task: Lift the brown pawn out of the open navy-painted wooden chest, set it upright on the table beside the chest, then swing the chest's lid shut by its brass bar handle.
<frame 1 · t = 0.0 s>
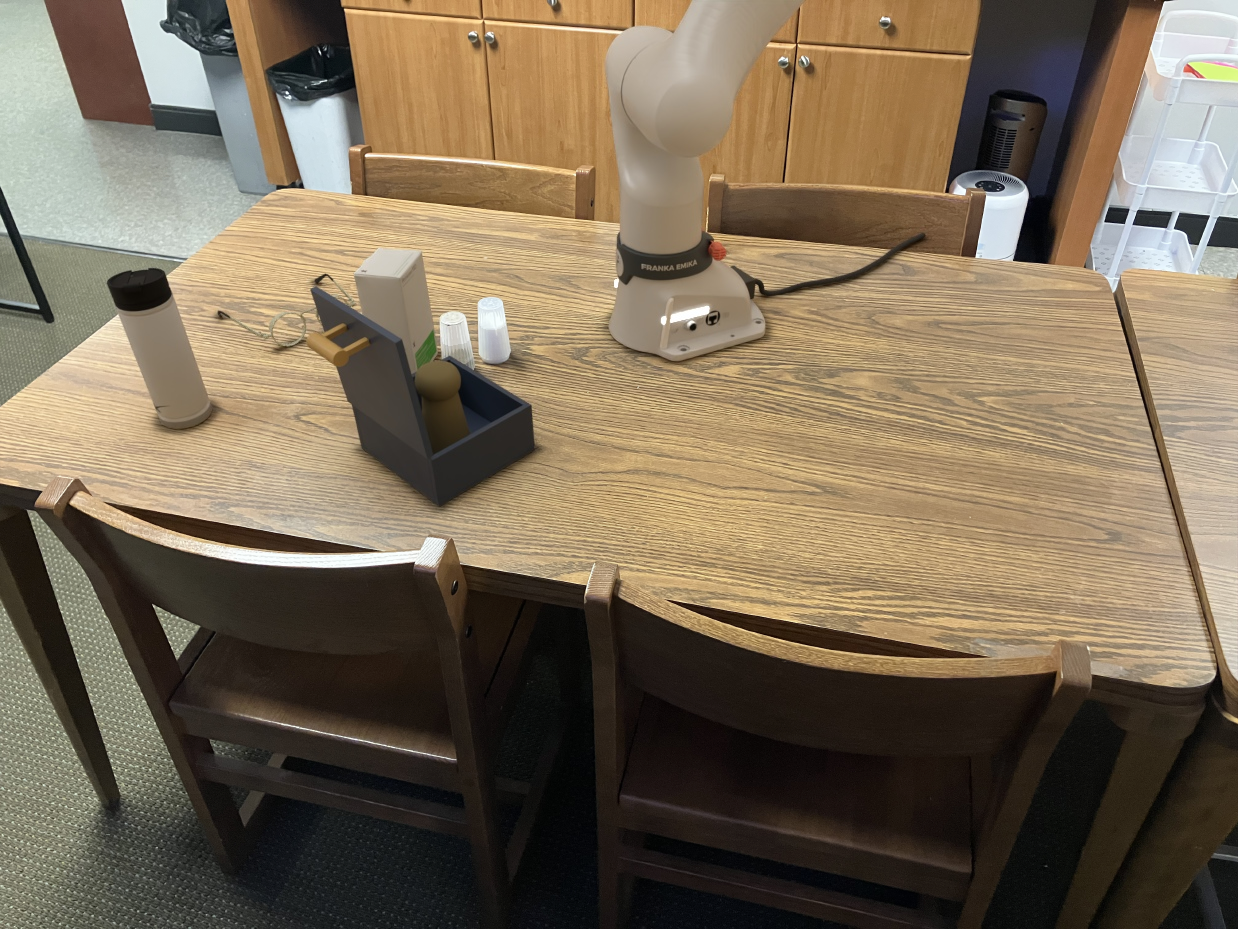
cosmetic box: (406, 367, 127), on the table
lid: (355, 383, 98), point 15 cm above the table, hinge at 95.0°
round eyeglasses: (291, 318, 137), on the table
travel mug: (187, 417, 118), on the table
chest: (448, 449, 112), on the table
brown pawn: (447, 445, 112), point 1 cm above the table, touching chest
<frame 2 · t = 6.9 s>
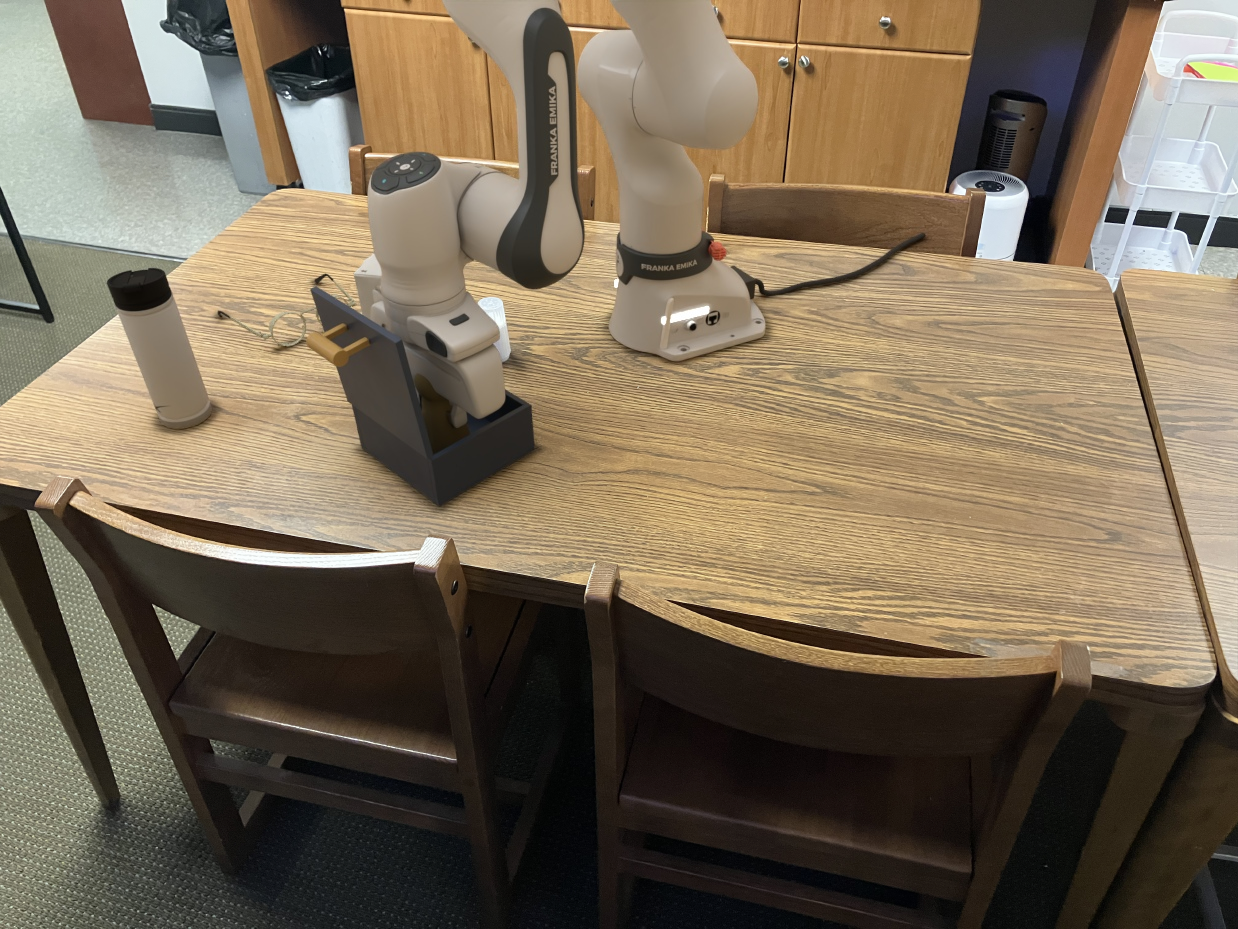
hand: (442, 413, 109), 5 cm above the table, tool pointing down, fingers closed on brown pawn, 4 cm apart
brown pawn: (447, 445, 112), point 1 cm above the table, touching chest, gripper
everything else where it was.
when the fingers open (5 cm above the table, at t = 14.7 s): brown pawn stays where it is, on the table.
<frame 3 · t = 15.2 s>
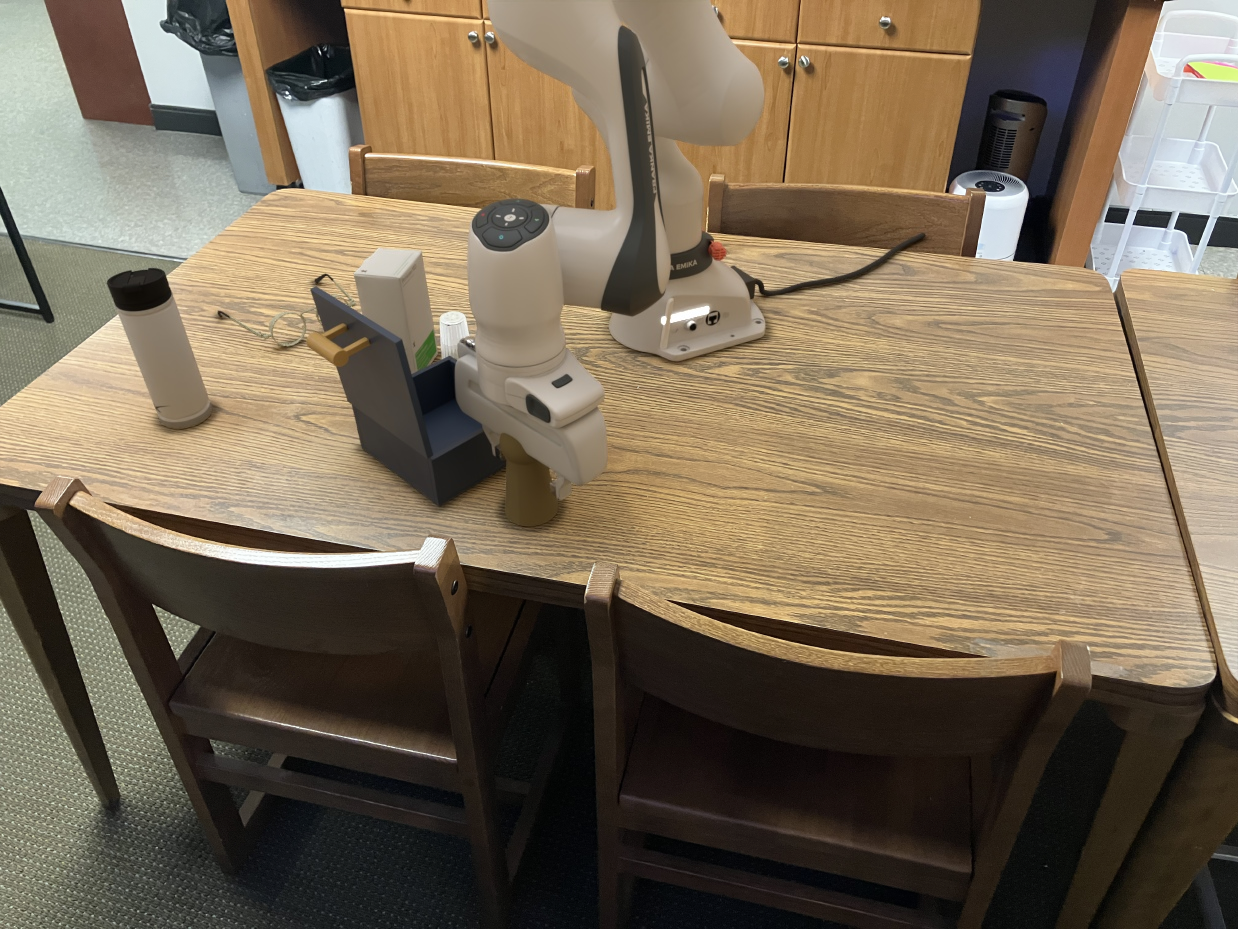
hand: (531, 474, 101), 5 cm above the table, tool pointing down, fingers open, 8 cm apart
brown pawn: (531, 509, 104), on the table
everything else where it was.
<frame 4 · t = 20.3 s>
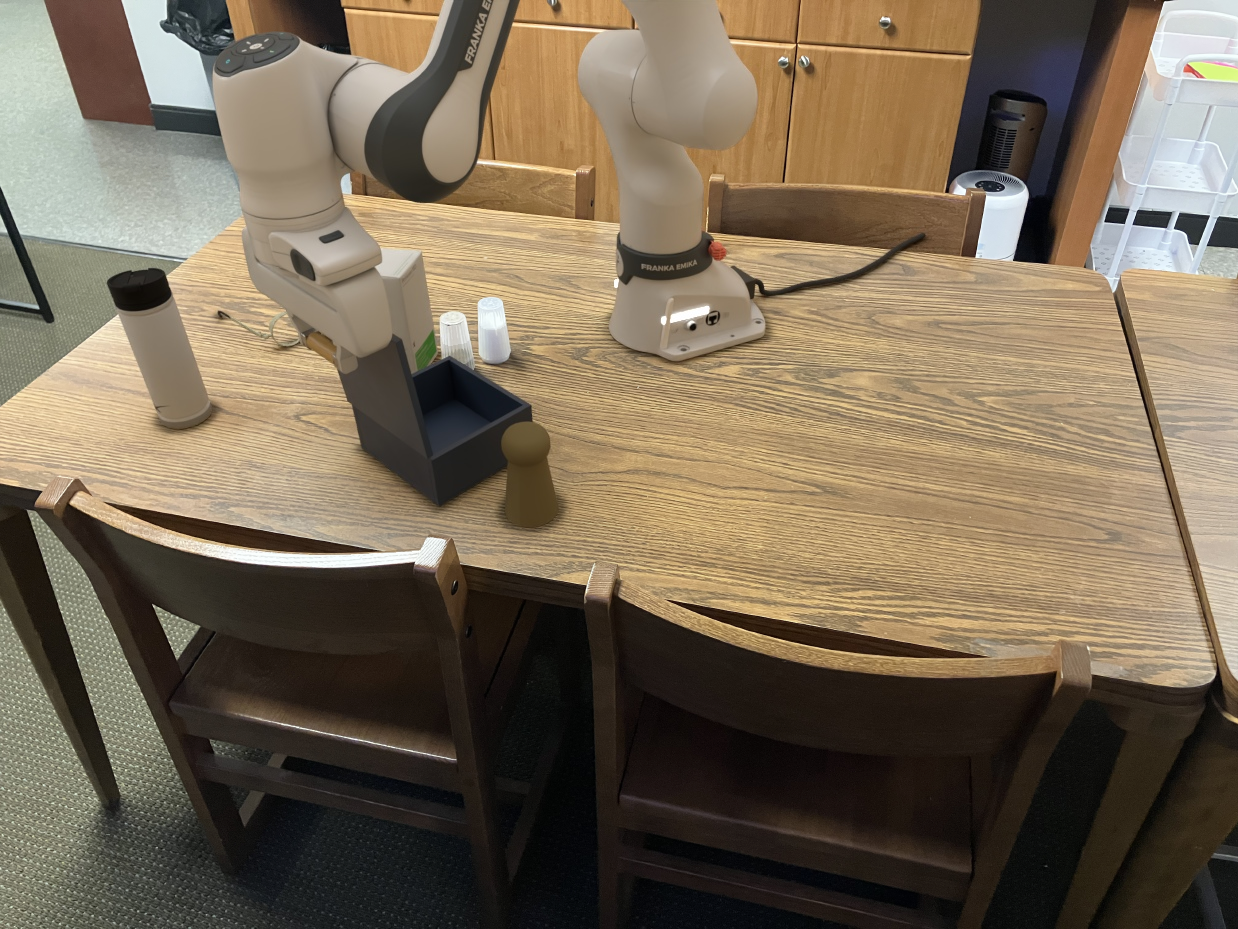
hand: (329, 357, 94), 19 cm above the table, tool pointing down, fingers closed on lid, 5 cm apart
lid: (355, 383, 98), point 15 cm above the table, hinge at 95.0°, touching gripper
everything else where it was.
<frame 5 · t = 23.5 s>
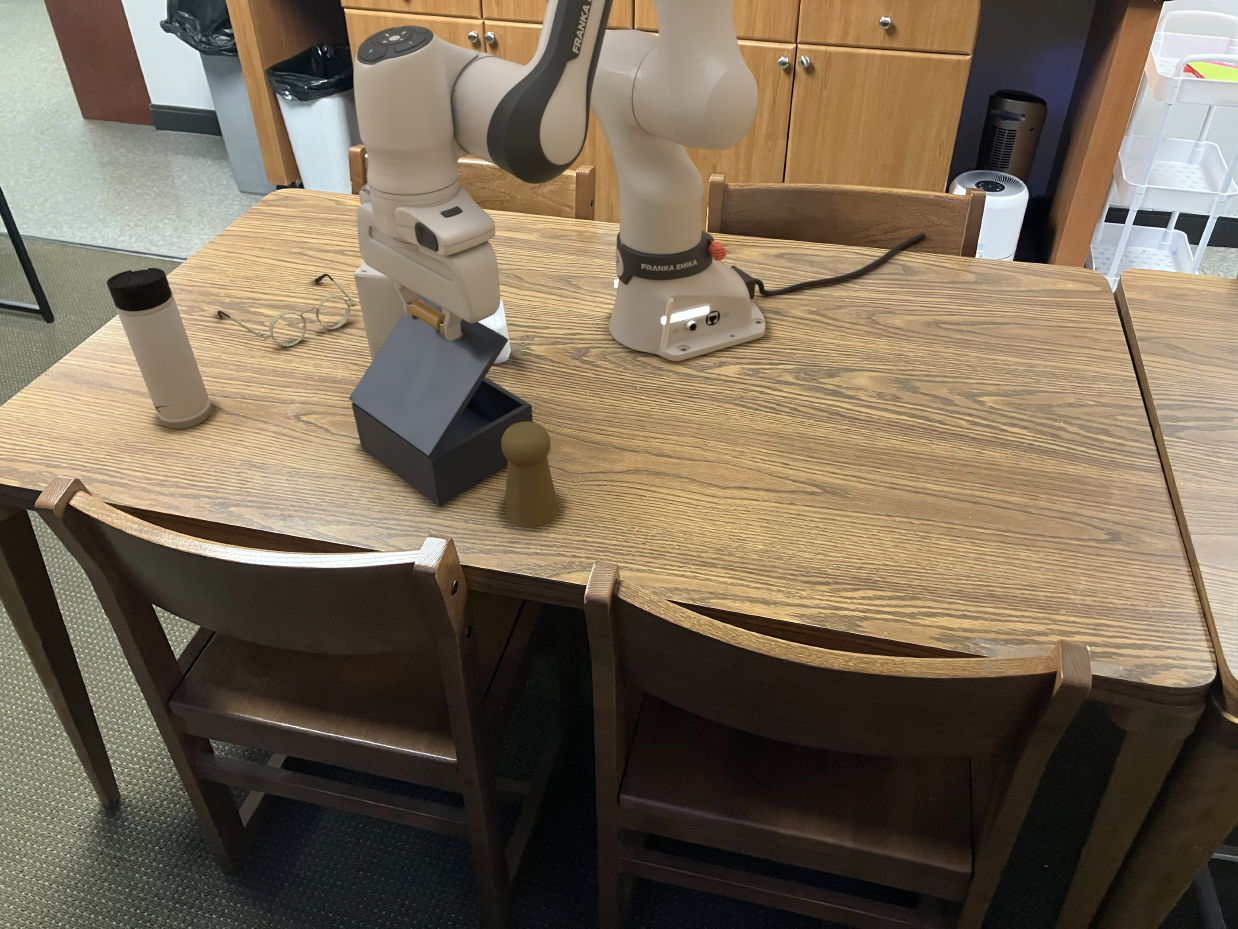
hand: (433, 326, 102), 17 cm above the table, tool pointing down, fingers closed on lid, 5 cm apart
lid: (413, 362, 102), point 14 cm above the table, hinge at 39.7°, touching gripper
everything else where it was.
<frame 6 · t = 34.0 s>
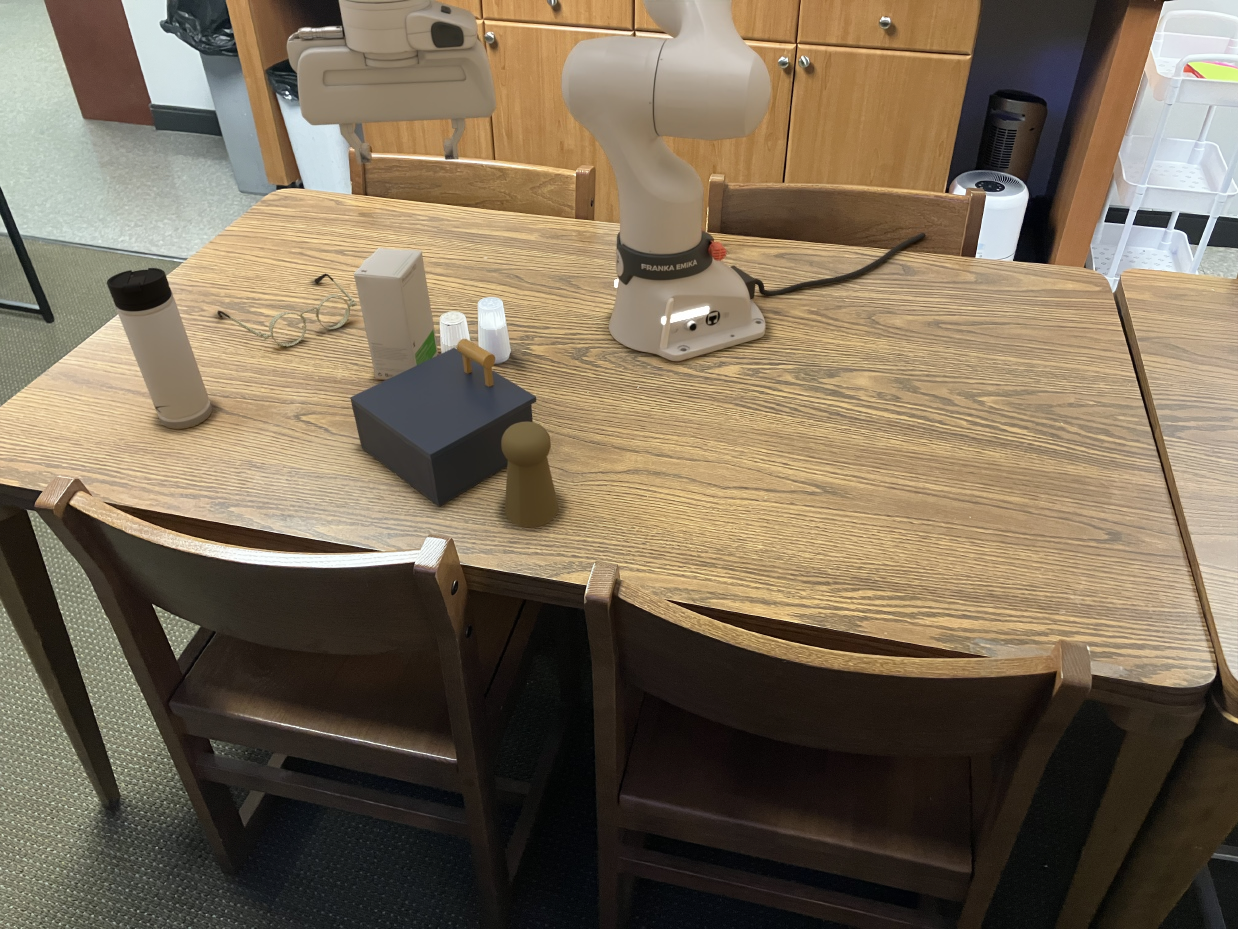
hand: (408, 159, 102), 31 cm above the table, tool pointing down, fingers open, 8 cm apart
lid: (441, 383, 107), point 9 cm above the table, hinge at -0.2°, touching chest
everything else where it was.
at the end: brown pawn inside the target area (0.1 cm from its centre), on the table; brown pawn tilted 0°; lid at +0° (first picture: +95°) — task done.
